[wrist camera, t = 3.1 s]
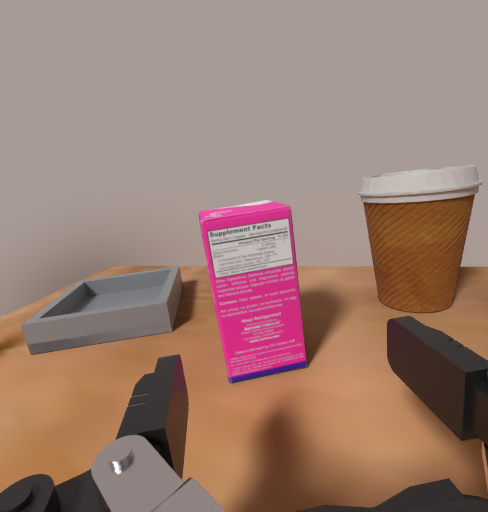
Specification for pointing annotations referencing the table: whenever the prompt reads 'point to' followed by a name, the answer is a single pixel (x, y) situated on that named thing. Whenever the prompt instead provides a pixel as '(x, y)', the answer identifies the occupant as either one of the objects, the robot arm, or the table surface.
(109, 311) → the tray
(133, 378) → the table surface
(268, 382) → the table surface
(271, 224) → the supplement box
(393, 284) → the disposable coffee cup
